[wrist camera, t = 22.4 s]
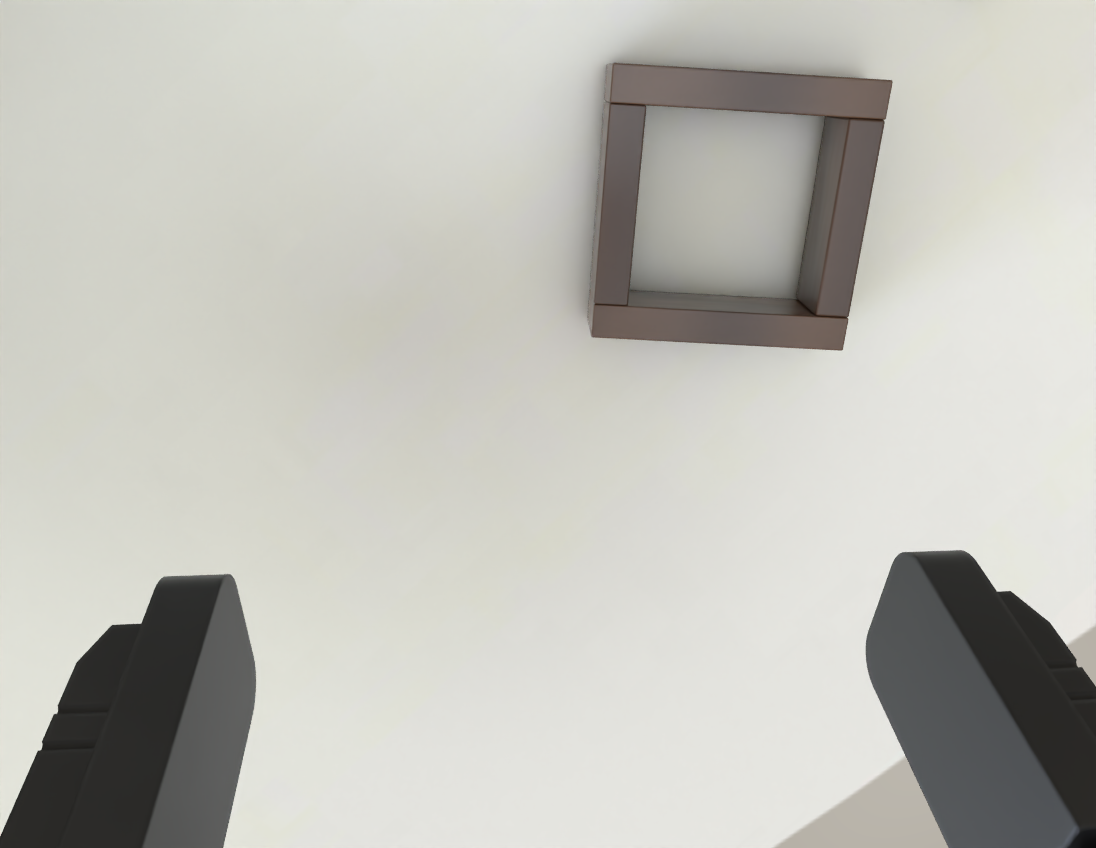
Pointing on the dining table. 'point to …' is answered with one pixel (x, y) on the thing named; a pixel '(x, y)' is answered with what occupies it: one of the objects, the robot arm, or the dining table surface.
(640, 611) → the dining table surface
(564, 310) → the dining table surface
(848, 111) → the walnut holder
